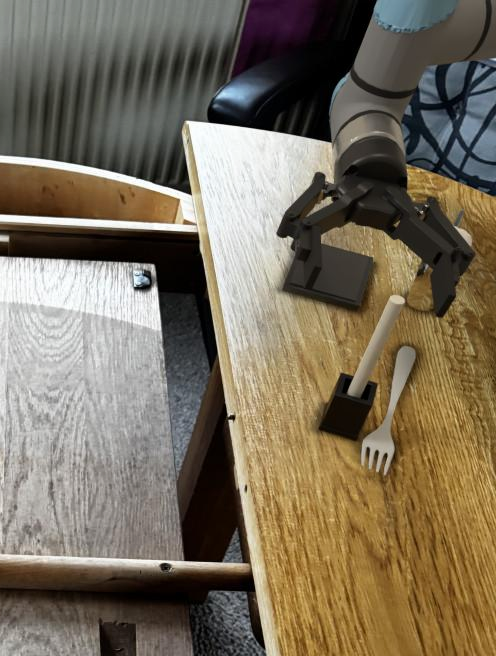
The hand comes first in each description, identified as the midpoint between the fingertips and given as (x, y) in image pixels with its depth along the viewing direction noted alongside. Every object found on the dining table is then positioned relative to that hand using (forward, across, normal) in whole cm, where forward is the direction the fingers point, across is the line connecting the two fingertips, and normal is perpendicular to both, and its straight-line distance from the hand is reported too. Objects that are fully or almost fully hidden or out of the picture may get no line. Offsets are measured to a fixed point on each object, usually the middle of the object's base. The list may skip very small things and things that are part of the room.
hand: (379, 292), depth 92 cm
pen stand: (+9, 0, -10) cm, 13 cm away
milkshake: (-16, -11, -11) cm, 22 cm away
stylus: (+8, 0, -9) cm, 12 cm away
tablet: (-18, 0, -12) cm, 21 cm away
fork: (+5, -5, -10) cm, 12 cm away
